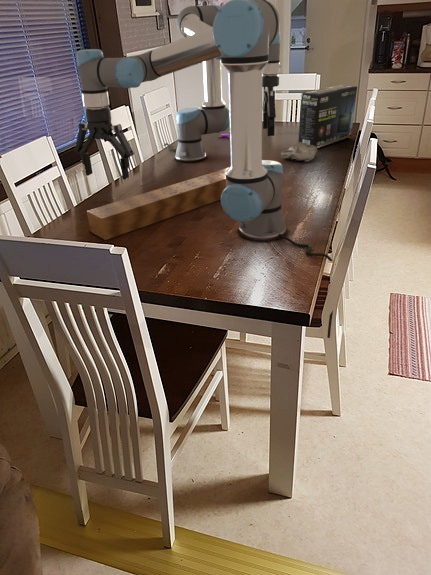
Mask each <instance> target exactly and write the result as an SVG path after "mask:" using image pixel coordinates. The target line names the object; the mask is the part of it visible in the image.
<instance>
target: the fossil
mask: <svg viewBox="0 0 431 575" xmlns="http://www.w3.org/2000/svg"><path fill="white" fill-rule="evenodd" d="M316 152H317V153H318V149H317V147H315V146H314V145H308V144H307V143H303V142H298V141H297V143H296V145H291V146H289V148H288V149H284V150H282V151H281V152H280V156H281V158H282V159H284V160H289V159H291V158H292V159H291V160H293V159H297V160H296V161H303V160H309V161H303V162H304V163H309V162H310V161H312V160H314V158H315V156H316V155H317V153H316ZM282 156H288V157H290V158H283V157H282Z"/></svg>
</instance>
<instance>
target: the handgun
mask: <svg viewBox="0 0 431 575" xmlns="http://www.w3.org/2000/svg"><path fill="white" fill-rule="evenodd" d="M221 135H230V134H229V133H221V134H220V138H228V139H230V137H228V136H221Z"/></svg>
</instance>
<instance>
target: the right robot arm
mask: <svg viewBox="0 0 431 575" xmlns="http://www.w3.org/2000/svg"><path fill="white" fill-rule="evenodd" d="M280 29H281V18H280V14H279V12H278V10H277V8H276V7H275V5H274V4H273V3H271V2H270V0H269V1H268V0H229V1H227V2H225V3H224V4H222V6H221V8H220V10H219V11H218V13H217V14H216V17H215V19H214V23H213V27H211V28H208V29H206V30H203V31H200V32H198V33H195V34H193V35H190V36H187V37H181V38H180V39H178V40H174V41H172V42H170V43H169V42H168V43H166V44H164V45H162V46H159V47H157V48H154V49H152V50H148V51H146V52H143V53H140V54H136V55H128V56H123V57H105V56H104V53H103V50H101V49H98V48H91V49H88V48H87V49H80V50H78V51H76V64H77V65H76V66H77V68H76V69H77V73H78V76H79V82H80V87H81V95H82V102H83V107H84V108H85V109H84V114H85V120H86V121H83V122H81V123H79V124H78V134H77V138H76V142H75V146H74V149H73V151H74V153H76V154H79V155H80V158H81V164H82V165H83V166H84V171H85V176H87V177H88V176H91V175H93V167H92V160H91V155H90V153H89V149H90V148H91V146H92V145H93V143H94V141H95V140H103V141H105V140H106V141H107V142H109V144H111V146H112V147H113V149H114V150H115V151H116V153H118V154H119V156H120V157H121V158H120V159H119V161H120V168H121V169H120V170H121V177H122V180H126V179H128V178H129V177H130V174H129V168H130V166H131V165H130V157H132V156H134V155H135V152H134V150H133V148H132V145H131V144H130V142H129V140H128V138H127V137H126V135H125V133H124V131H123V127H122V124H121V123H118V124H113V123H112V113H111V112H112V111H111V108H110V107H109V106H110V98H109V91H108V88H125V89H135V88H139V87H140V86H141V84H142V83H146V82H153V81H155V80H158V79H159V78H162V77H164V76H166V75H170V74H172V73H176V72H178V71H182V70H184V69H187V68H191V67H193V66H197V65H199V64H203V62H205V61H208V60H211V59H214V58H217V57H220V56H221V66H222V67H223V68H224V69H225V70H226V71H227V90H228V109H229V122H230V124H229V133H230V138H229V146H230V148H229V149H230V150H229V151H230V152H229V153H230V166H229V167H230V168H229V167H228V168H229V169H228V170H227V171H226V188H225V189H224V190H223V192H222V195H221V200H220V205H221V208H222V210H223V212H224V213H225V215H227V216H228V217H229V218H230V219H232V220H233V221H235V222H239V225H238V232H239V235H240V236H241V237H242V238H244V239H247V240H250V241H254V242H271V241H277V240H279V239H281V238H282V239H284V240H285V241H287V242H288V243H290V244H292V245H293V246H296V247H301V248H303V247H304V248H307V249H306V254H307V255H309V256H311V257H323V258H326V259H327V260H328V261H329V262H333V259H332V258H331V257H330V256H329V255H328V254H326V253H323V252H311V249H312V246H311V245H310V244H306V243H297V242H295V241H294V240H292V239H291V238H290V237H287V236H286V234H287V223H286V221H285V216H284V214H283V210H282V200H283V181H284V180H283V179H284V168H283V167H284V166H283V164H282V163H281V162H279V161H276V160H270V159H263V109H262V107H263V87H262V69H263V67H264V66H265V65H266V64H267V63H268V48H269V46H270V45H272V43H273V42H274V41H275V40H276V38H277V36H278V33H279V31H280ZM87 131H89V134H88V136H87V138H86V135H87V133H88V132H87ZM333 314H334V310H332V311H331V313H330V314H329V317H328V325H327V326H328V327H327V339H330V338H331V331H332V321H333Z"/></svg>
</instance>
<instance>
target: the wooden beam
mask: <svg viewBox="0 0 431 575" xmlns="http://www.w3.org/2000/svg"><path fill="white" fill-rule="evenodd" d="M229 168H230V166H229V167H226V168H223V169H220V170H216V171H213V172H210V173H206V174H203V175H200V176H196V177H193V178H190V179H187V180H184V181H180V182H177V183H173V184H171V185H170V184H169V185H167V186H164V187H160V188H157V189H154V190H151V191H147V192H144V193H140V194H138V195H134V196H131V197H128V198H124V199H120V200H117V201H115V202H114V201H113V202H111V203H108V204H104V205H101V206H98V207H94V208H92V209H89V210H86V216H87V220H88V225H89V230H90V232H91V233H92V234H94V235H95V236H97V237H98V238H100V239H102V240H104V241H107V240H110V239H113V238H115V237H119V236H121V235H124V234H128V233H129V232H132V231H136V230H138V229H141V228H144V227H147V226H149V225H153V224H155V223H159V222H161V221H164V220H166V219H170V218H172V217H175V216H179V215H181V214H183V213H186V212H189V211H192V210H195V209H198V208H200V207H203V206H206V205H209V204H212V203H216V202H218V201H221V195H222V192H223V190H224V189H225V188H226V171H227V170H228V169H229Z"/></svg>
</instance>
